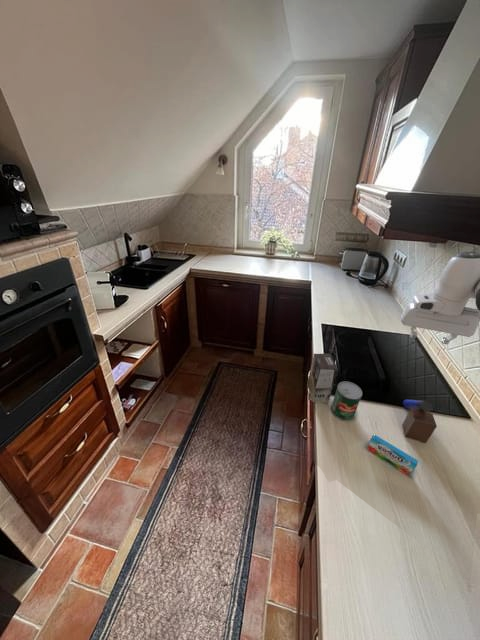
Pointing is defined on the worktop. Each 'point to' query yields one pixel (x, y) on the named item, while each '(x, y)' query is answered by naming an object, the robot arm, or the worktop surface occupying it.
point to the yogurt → (392, 455)
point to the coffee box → (322, 377)
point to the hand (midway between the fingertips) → (428, 339)
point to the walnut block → (419, 425)
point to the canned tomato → (346, 400)
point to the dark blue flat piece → (418, 405)
